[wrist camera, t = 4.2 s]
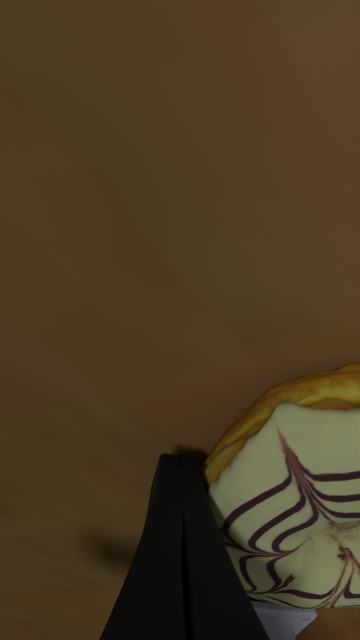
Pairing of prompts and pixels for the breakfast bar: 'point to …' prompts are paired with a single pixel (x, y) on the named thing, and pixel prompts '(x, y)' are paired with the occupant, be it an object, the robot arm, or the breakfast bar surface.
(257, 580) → the decorated donut
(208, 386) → the breakfast bar surface
